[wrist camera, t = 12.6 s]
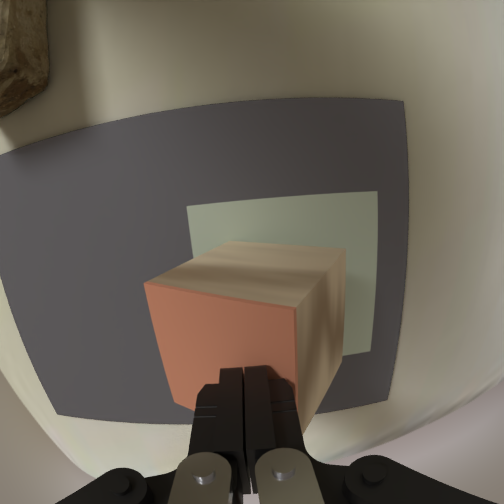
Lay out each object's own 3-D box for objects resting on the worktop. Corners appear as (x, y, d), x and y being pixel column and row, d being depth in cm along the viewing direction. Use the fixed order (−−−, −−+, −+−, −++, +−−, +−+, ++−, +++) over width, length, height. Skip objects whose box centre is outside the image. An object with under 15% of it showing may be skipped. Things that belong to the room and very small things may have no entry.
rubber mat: (-18, 162, 15) (-21, 163, 14) (400, 101, 15) (403, 100, 15) (58, 412, 21) (57, 414, 20) (385, 397, 21) (387, 400, 20)
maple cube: (293, 310, 9) (345, 248, 14) (143, 283, 12) (229, 240, 17) (295, 446, 10) (341, 361, 15) (174, 402, 13) (241, 340, 18)
